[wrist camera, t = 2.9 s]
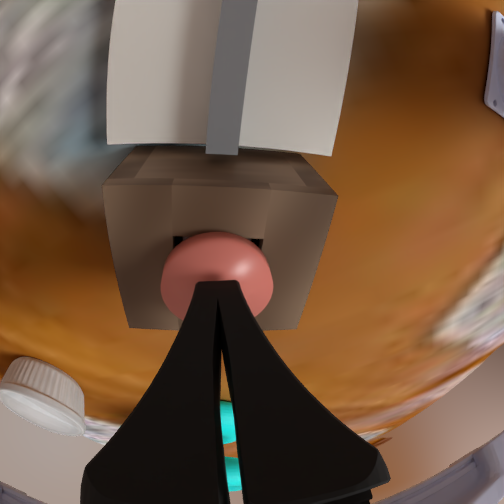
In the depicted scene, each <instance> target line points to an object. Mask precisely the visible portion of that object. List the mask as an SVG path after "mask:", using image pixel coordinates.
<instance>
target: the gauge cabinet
mask: <svg viewBox="0 0 504 504" xmlns="http://www.w3.org/2000/svg"><path fill="white" fill-rule="evenodd" d="M205 153H206V146H136V147H135V148H134V149H133V150H132V152H131V153H130V154H129V155H128V156H127V157H126V158H125V159H124V160H123V161H122V162H121V164H120V165H119V166H118V167H117V168H116V169H115V170H114V172H113V173H112V174H111V175H110V176H109V177H108V179H107V180H106V181H105V182H104V183H103V185H102V193H103V202H104V209H105V217H106V223H107V230H108V236H109V242H110V247H111V253H112V258H113V263H114V268H115V272H116V277H117V281H118V286H119V290H120V294H121V298H122V302H123V306H124V310H125V314H126V317H127V321H128V325H129V328H141V329H160V330H180V327H181V325H182V323H183V320H181V319H180V318H178V317H177V316H175V315H174V314H173V313H172V312H171V311H170V310H169V309H168V307H167V306H166V304H165V303H164V301H163V298H162V295H161V279H162V274H163V268H164V264H165V261H166V259H167V257H168V255H169V254H170V252H171V251H172V250H173V249H174V248H175V236H187V237H192V236H195V235H198V234H202V233H208V232H227V233H232V234H236V235H239V236H242V237H244V238H252V239H259V245H258V247H259V248H260V250H261V251H262V252H263V253H264V255H265V257H266V259H267V261H268V264H269V268H270V272H271V275H272V280H273V293H272V296H271V299H270V301H269V303H268V304H267V306H266V307H265V308H264V309H263V310H262V311H261V312H260V313H259V314H258V315H257V316H255V319H256V321H257V322H258V324H259V326H260V328H261V329H262V330H287V329H297V326H298V323H299V321H300V318H301V315H302V312H303V309H304V306H305V303H306V300H307V297H308V294H309V291H310V288H311V285H312V282H313V279H314V276H315V273H316V270H317V267H318V264H319V261H320V257H321V254H322V251H323V248H324V244H325V241H326V238H327V234H328V231H329V227H330V224H331V220H332V217H333V213H334V210H335V206H336V202H337V199H338V195H337V194H336V193H335V192H334V191H333V189H332V188H331V187H330V186H329V185H328V184H327V183H326V182H325V180H324V179H323V178H322V177H321V176H320V175H319V174H318V173H317V172H316V171H315V170H314V169H313V167H312V166H311V165H310V164H309V163H308V162H307V161H306V160H305V159H304V158H303V157H302V156H301V155H300V154H294V153H285V152H276V151H266V150H255V149H242V148H238V155H224V154H205Z"/></svg>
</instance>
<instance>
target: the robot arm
mask: <svg viewBox="0 0 504 504" xmlns="http://www.w3.org/2000/svg"><path fill="white" fill-rule="evenodd" d="M484 102H485V104H486V105H487V106H488V107H489V108H491V109H492V110H494V111H495V112H496V113H498V114H499V115H500V116H502V117H503V118H504V17H503V16H502V15H501V14H500V13H499V12H498V11H493V13H492V38H491V51H490V61H489V69H488V76H487V83H486V89H485V95H484ZM221 351H222V354H223V360H224V365H225V371H226V376H227V382H228V387H229V392H230V398H231V403H232V409H233V416H234V425H235V435H236V444H237V453H238V461H239V470H240V478H241V486H242V494H243V502H244V504H370V502H369V500H370V499H372V493H371V489H372V488H375V487H378V486H380V485H383V484H385V483H388V482H389V481H390V479H391V478H390V475H389V472H388V468H387V466H386V464H385V462H384V460H383V458H382V456H381V454H380V452H379V451H378V449H377V448H375V447H374V446H373V445H371V444H370V443H368V442H367V441H365V440H364V439H363V438H361V437H360V436H359V435H357V434H356V433H355V432H353V431H352V430H351V429H349V428H348V427H347V426H346V425H345V424H343V423H342V422H341V421H340V420H339V419H338V418H336V417H335V416H334V415H333V414H332V413H331V412H330V411H329V410H328V409H326V408H325V407H324V406H323V405H322V404H321V403H320V402H319V401H318V400H317V399H316V398H315V397H314V396H313V395H312V394H311V393H310V392H309V391H308V390H307V389H306V388H305V387H304V385H303V384H302V383H301V382H300V381H299V380H298V379H297V378H296V376H295V375H294V374H293V373H292V372H291V370H290V369H289V368H288V367H287V365H286V364H285V363H284V362H283V360H282V359H281V358H280V356H279V355H278V353H277V352H276V351H275V349H274V348H273V346H272V345H271V343H270V342H269V340H268V339H267V337H266V336H265V334H264V333H263V331H262V329H261V328H260V326H259V324H258V322H257V321H256V319H255V317H254V315H253V314H252V312H251V310H250V308H249V306H248V304H247V302H246V299H245V297H244V295H243V292H242V290H241V287H240V283H239V282H238V281H237V280H222V281H199V282H197V283H196V284H195V289H194V292H193V296H192V299H191V302H190V305H189V308H188V310H187V313H186V316H185V318H184V320H183V323H182V325H181V327H180V330H179V332H178V334H177V336H176V339H175V341H174V343H173V345H172V347H171V349H170V351H169V353H168V355H167V357H166V359H165V360H164V362H163V364H162V366H161V368H160V369H159V371H158V373H157V375H156V376H155V378H154V380H153V381H152V383H151V385H150V386H149V388H148V389H147V391H146V392H145V394H144V395H143V397H142V398H141V400H140V401H139V403H138V404H137V406H136V407H135V408H134V410H133V411H132V413H131V414H130V415H129V416H128V418H127V419H126V420H125V422H124V423H123V424H122V425H121V427H120V428H119V429H118V430H117V432H116V433H115V434H114V436H113V437H112V438H111V439H110V440H109V441H108V443H107V444H106V445H105V446H104V447H103V448H102V449H101V450H100V451H99V452H98V453H97V454H96V456H95V457H94V458H93V459H92V460H91V461H90V462H89V463H88V464H87V465H86V467H85V470H84V474H83V478H82V483H81V496H80V504H230V497H229V490H228V482H227V474H226V465H225V456H224V447H223V437H222V426H221V414H220V391H221ZM503 497H504V431H502V432H501V433H500V434H498V435H497V436H496V437H494V438H492V439H491V440H490V441H489V442H487V443H485V444H484V445H482V446H481V447H479V448H476V449H475V450H473V451H471V452H469V453H468V454H466V455H465V456H463V457H462V458H460V459H458V460H457V461H455V462H454V463H452V464H450V466H449V467H448V468H446V469H445V470H443V471H441V472H440V473H438V474H436V475H434V476H432V477H430V478H429V479H427V480H425V481H423V482H421V483H419V484H417V485H415V486H412V487H410V488H409V489H406V490H404V491H402V492H400V493H397V494H395V495H393V496H390V497H388V498H385V499H383V500H380V501H378V502H375V503H372V504H497V503H498V502H499V501H500V500H501V499H502V498H503ZM0 504H47V503H44V502H42V501H39V500H37V499H34V498H32V497H29V496H27V494H26V493H24V492H22V491H20V490H18V489H16V488H14V487H12V486H9V485H8V484H5V483H3V482H1V481H0Z"/></svg>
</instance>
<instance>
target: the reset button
mask: <svg viewBox="0 0 504 504" xmlns="http://www.w3.org/2000/svg"><path fill="white" fill-rule="evenodd" d="M222 280H237V281H238V282H239V283H240V287H241V290H242V292H243V295H244V297H245V299H246V302H247V304H248V306H249V308H250V310H251V312H252V314H253V315H254V317H255V316H257V315H258V314H259V313H260V312H261V311H262V310H263V309H264V308H265V307H266V306H267V304H268V303H269V301H270V299H271V296H272V293H273V280H272V275H271V272H270V268H269V264H268V261H267V259H266V257H265V255H264V253H263V252H262V251H261V250H260V248H259V247H258V246H256V245H255V244H254V243H253V242H251V238H244V237H242V236H239V235H236V234H232V233H227V232H208V233H202V234H198V235H195V236H192V237H187V236H183V241H182V242H181V243H180V244H178V245H177V246H176V247H175V248H174V249H173V250H172V251H171V252H170V254H169V255H168V257H167V259H166V261H165V264H164V268H163V274H162V279H161V295H162V298H163V301H164V303H165V304H166V306H167V307H168V309H169V310H170V311H171V312H172V313H173V314H174V315H175V316H177V317H178V318H180V319H181V320H184V318H185V316H186V313H187V310H188V308H189V305H190V302H191V299H192V296H193V292H194V289H195V284H196V283H197V282H199V281H222Z"/></svg>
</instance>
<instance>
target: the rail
mask: <svg viewBox="0 0 504 504" xmlns="http://www.w3.org/2000/svg"><path fill="white" fill-rule="evenodd" d="M357 8H358V0H116V1H115V7H114V14H113V21H112V28H111V37H110V47H109V59H108V74H107V145H111V144H136V143H191V144H206V153H205V154H224V155H238V147H239V146H248V147H259V148H270V149H280V150H288V151H297V152H304V153H312V154H319V155H325V156H331V155H332V150H333V146H334V141H335V137H336V132H337V127H338V122H339V117H340V112H341V107H342V102H343V97H344V91H345V86H346V80H347V75H348V69H349V63H350V57H351V51H352V44H353V37H354V31H355V23H356V16H357Z"/></svg>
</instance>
